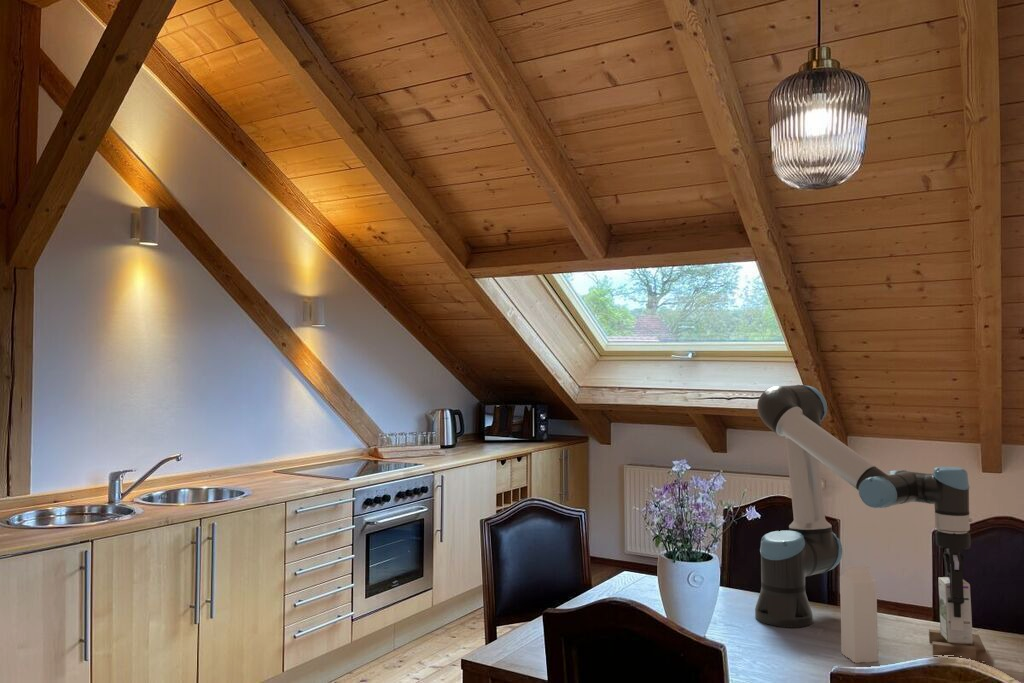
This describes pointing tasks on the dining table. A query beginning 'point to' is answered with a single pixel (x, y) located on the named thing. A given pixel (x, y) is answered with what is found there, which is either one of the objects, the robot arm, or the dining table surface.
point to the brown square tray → (957, 647)
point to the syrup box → (945, 622)
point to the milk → (859, 615)
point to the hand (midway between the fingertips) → (955, 625)
